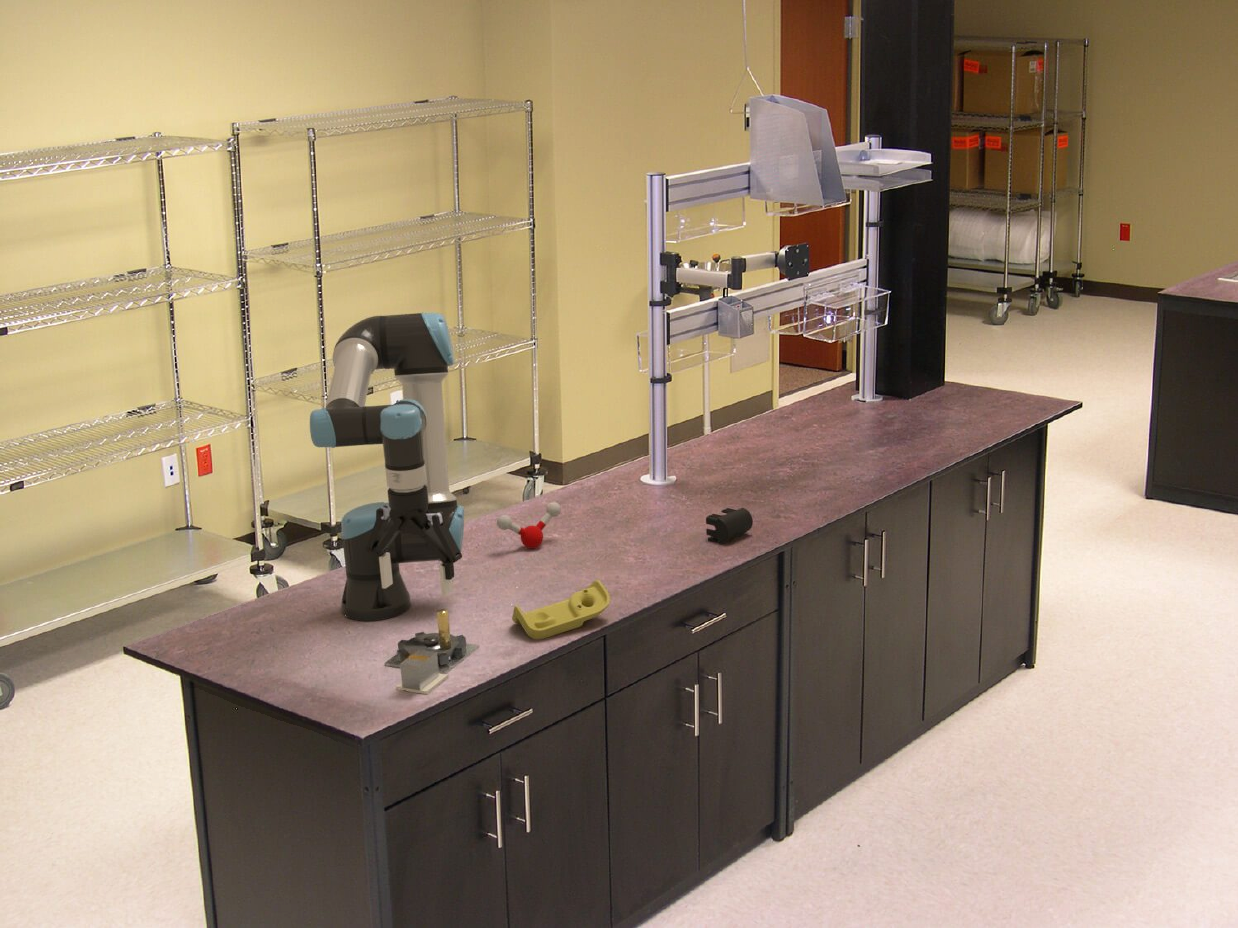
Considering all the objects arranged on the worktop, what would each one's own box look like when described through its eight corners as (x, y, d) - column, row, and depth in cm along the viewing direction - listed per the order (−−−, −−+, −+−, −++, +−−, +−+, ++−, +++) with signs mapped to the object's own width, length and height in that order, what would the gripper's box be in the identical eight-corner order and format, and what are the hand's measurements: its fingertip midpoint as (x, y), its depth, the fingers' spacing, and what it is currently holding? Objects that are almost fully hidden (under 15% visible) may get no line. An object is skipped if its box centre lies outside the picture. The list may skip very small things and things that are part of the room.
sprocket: (434, 634, 310) (429, 589, 307) (480, 648, 301) (476, 603, 298) (383, 656, 300) (378, 610, 297) (430, 672, 291) (425, 625, 288)
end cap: (728, 546, 355) (727, 520, 353) (705, 541, 360) (704, 514, 358) (753, 535, 362) (753, 509, 360) (731, 530, 367) (730, 504, 365)
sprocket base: (384, 665, 297) (384, 663, 297) (421, 639, 310) (421, 636, 309) (444, 674, 292) (444, 672, 292) (479, 647, 304) (479, 644, 304)
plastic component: (533, 633, 304) (512, 600, 310) (531, 657, 309) (510, 624, 315) (617, 605, 312) (596, 574, 318) (614, 629, 317) (593, 598, 323)
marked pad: (396, 689, 286) (395, 685, 286) (418, 672, 293) (417, 669, 293) (427, 694, 283) (426, 690, 283) (448, 677, 290) (448, 674, 290)
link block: (402, 687, 285) (399, 662, 284) (421, 672, 291) (419, 648, 290) (420, 690, 284) (418, 665, 282) (439, 675, 290) (437, 651, 288)
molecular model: (553, 535, 369) (550, 497, 366) (567, 541, 365) (565, 502, 362) (496, 553, 358) (493, 514, 356) (510, 559, 354) (507, 519, 351)
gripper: (341, 486, 282) (352, 589, 289) (453, 498, 272) (463, 605, 279) (363, 474, 289) (373, 575, 295) (474, 486, 279) (482, 590, 285)
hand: (417, 590), depth 287 cm, fingers open, 13 cm apart
